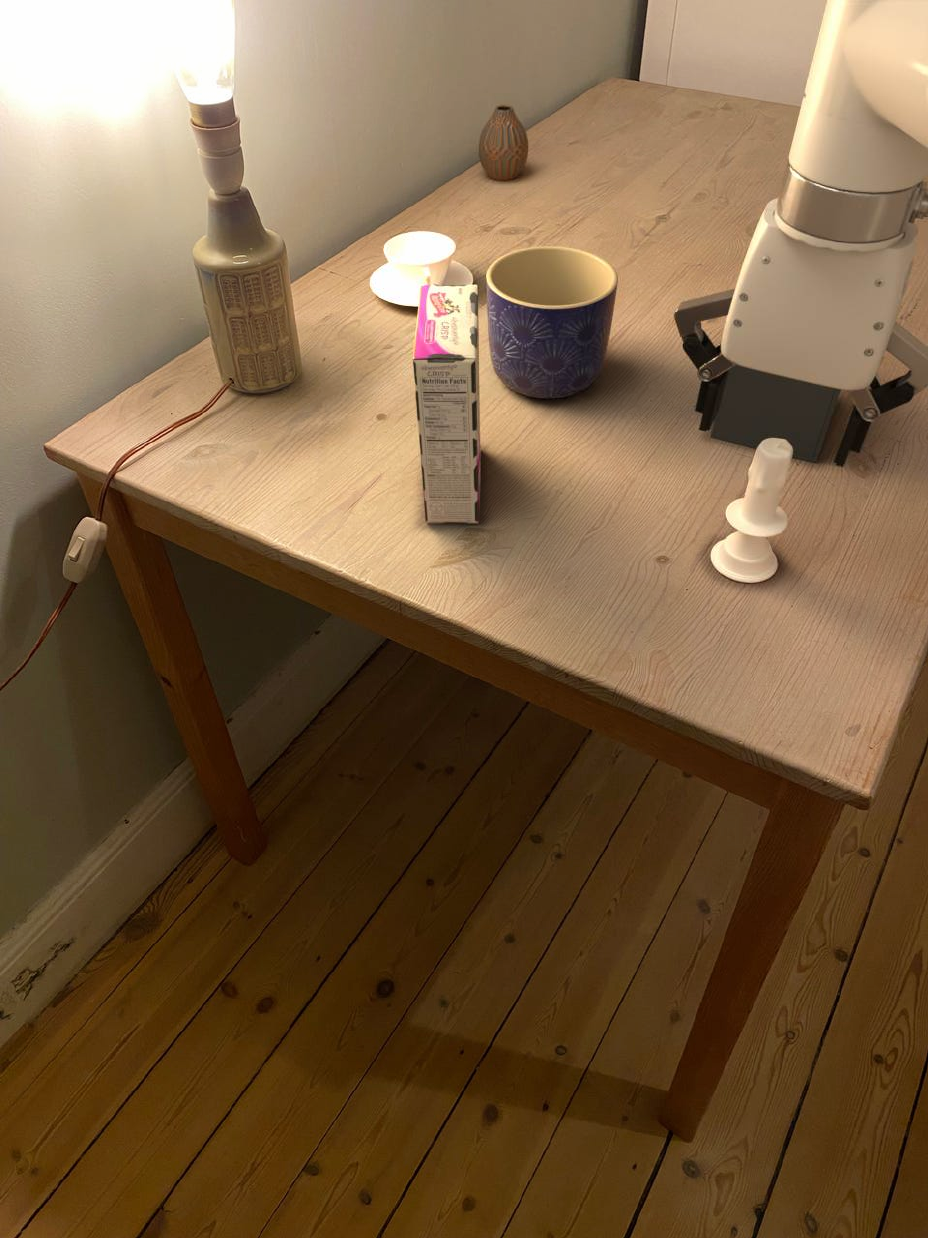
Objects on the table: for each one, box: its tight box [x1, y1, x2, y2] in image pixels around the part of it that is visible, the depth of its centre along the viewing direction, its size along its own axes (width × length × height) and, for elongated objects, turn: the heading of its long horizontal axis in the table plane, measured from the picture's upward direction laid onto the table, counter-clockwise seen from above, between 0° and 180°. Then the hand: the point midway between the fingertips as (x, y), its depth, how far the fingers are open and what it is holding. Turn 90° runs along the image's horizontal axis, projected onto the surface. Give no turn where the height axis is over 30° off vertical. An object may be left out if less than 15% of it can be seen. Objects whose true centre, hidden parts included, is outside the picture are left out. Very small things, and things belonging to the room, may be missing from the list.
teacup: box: [369, 231, 474, 307], centre depth 105 cm, size 12×12×5 cm
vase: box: [478, 104, 529, 181], centre depth 126 cm, size 7×7×9 cm
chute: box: [710, 364, 842, 464], centre depth 81 cm, size 12×10×20 cm
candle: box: [710, 438, 793, 584], centre depth 70 cm, size 5×5×12 cm
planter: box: [485, 245, 619, 399], centre depth 90 cm, size 12×12×11 cm
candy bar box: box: [412, 284, 482, 525], centre depth 76 cm, size 11×5×16 cm, turn 179°
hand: (773, 437), depth 66 cm, fingers open, 9 cm apart
